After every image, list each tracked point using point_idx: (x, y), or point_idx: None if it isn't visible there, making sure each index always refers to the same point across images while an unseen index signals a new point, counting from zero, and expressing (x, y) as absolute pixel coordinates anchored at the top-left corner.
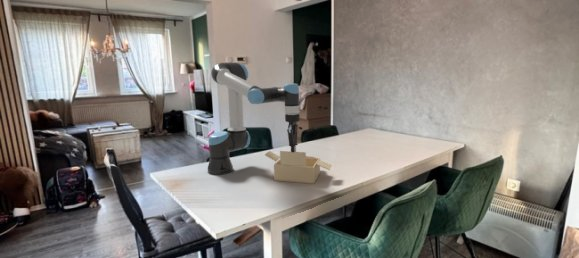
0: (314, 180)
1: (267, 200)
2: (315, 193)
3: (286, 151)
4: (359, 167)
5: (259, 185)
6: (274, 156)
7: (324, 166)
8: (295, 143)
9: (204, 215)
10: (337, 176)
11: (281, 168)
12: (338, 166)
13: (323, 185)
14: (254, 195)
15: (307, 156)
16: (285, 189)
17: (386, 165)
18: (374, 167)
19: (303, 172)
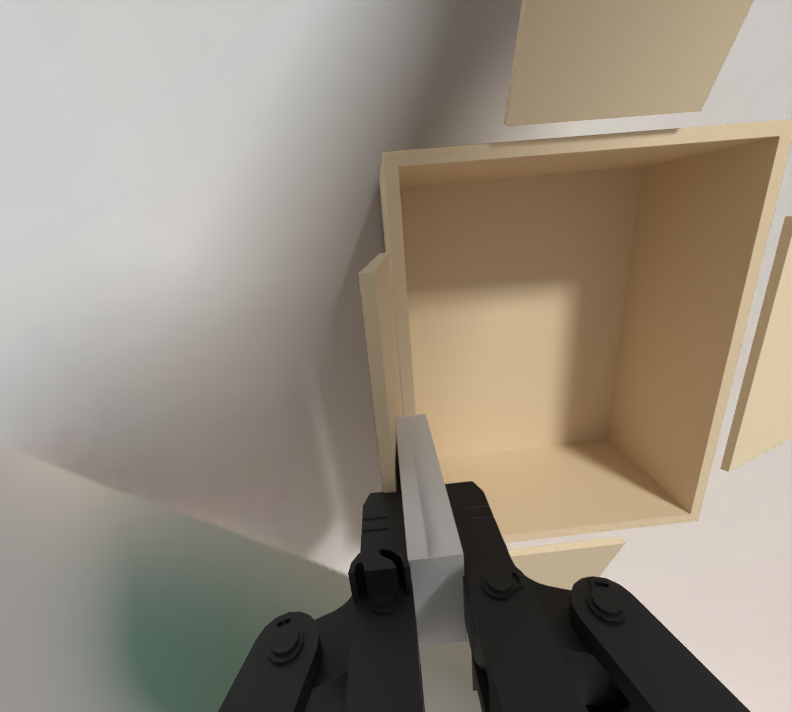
0: None
1: (10, 299)
2: (269, 511)
3: (380, 406)
4: (740, 595)
5: (228, 93)
6: (642, 26)
7: None
8: (479, 688)
9: None
10: (569, 537)
11: (389, 254)
12: (762, 500)
13: None
14: (20, 160)
15: (741, 417)
16: (247, 336)
17: (772, 681)
18: (739, 648)
19: None
